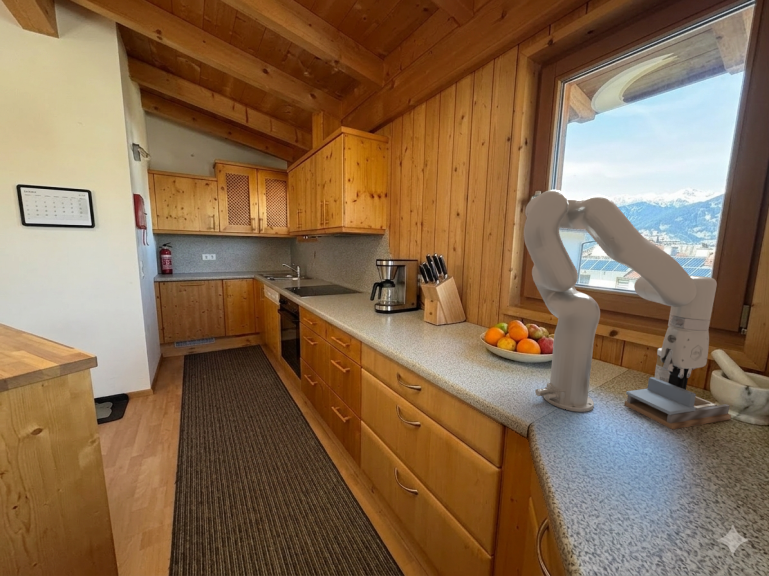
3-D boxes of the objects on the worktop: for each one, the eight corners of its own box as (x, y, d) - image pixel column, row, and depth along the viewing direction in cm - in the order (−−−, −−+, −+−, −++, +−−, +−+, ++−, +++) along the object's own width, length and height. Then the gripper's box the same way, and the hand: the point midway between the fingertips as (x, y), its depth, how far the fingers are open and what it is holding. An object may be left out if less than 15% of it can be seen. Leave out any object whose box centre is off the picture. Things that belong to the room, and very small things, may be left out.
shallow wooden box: (672, 429, 76) (674, 416, 75) (624, 404, 87) (625, 393, 87) (730, 419, 81) (732, 406, 80) (677, 397, 92) (679, 386, 92)
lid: (669, 414, 76) (672, 398, 75) (626, 394, 86) (627, 379, 86) (695, 410, 78) (697, 394, 77) (649, 390, 88) (651, 376, 88)
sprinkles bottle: (674, 393, 95) (680, 350, 93) (669, 397, 92) (675, 353, 90) (655, 387, 98) (660, 346, 96) (649, 390, 96) (655, 349, 94)
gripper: (683, 328, 75) (671, 399, 78) (727, 326, 79) (713, 394, 81) (650, 320, 82) (640, 385, 85) (692, 319, 86) (680, 381, 89)
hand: (676, 389), depth 83 cm, fingers closed
